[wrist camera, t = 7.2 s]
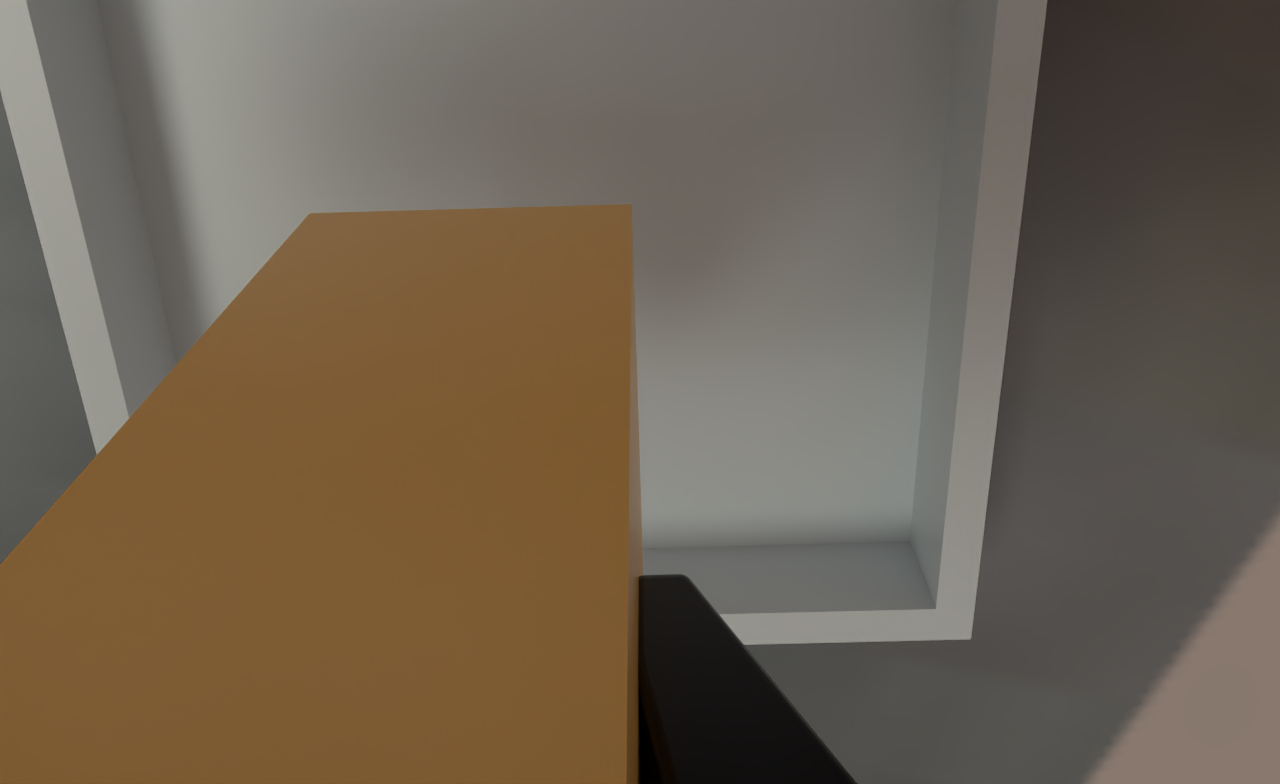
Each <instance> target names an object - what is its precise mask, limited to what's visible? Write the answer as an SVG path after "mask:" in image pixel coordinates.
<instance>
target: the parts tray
mask: <svg viewBox="0 0 1280 784" xmlns="http://www.w3.org/2000/svg"><path fill="white" fill-rule="evenodd" d="M1046 8H1047V0H0V91H1V95H2V99H3V102H4V106H5V110H6V114H7V117H8V121H9V125H10V129H11V133H12V136H13V140H14V144H15V148H16V151H17V155H18V159H19V163H20V167H21V170H22V174H23V178H24V182H25V185H26V189H27V193H28V197H29V201H30V204H31V208H32V212H33V216H34V219H35V223H36V227H37V231H38V235H39V238H40V242H41V246H42V250H43V253H44V257H45V261H46V265H47V269H48V272H49V276H50V280H51V284H52V287H53V291H54V295H55V299H56V303H57V306H58V310H59V314H60V318H61V321H62V325H63V329H64V333H65V337H66V340H67V344H68V348H69V352H70V355H71V359H72V363H73V367H74V371H75V374H76V378H77V382H78V386H79V389H80V393H81V397H82V401H83V405H84V408H85V412H86V416H87V420H88V423H89V427H90V431H91V435H92V439H93V442H94V446H95V450H96V454H98V453H99V452H100V451H101V450H102V449H103V447H104V446H105V445H106V444H107V443H108V442H109V441H110V439H111V438H112V437H113V436H114V435H115V434H116V433H117V432H118V430H119V429H120V428H121V427H122V426H123V425H124V424H125V422H126V421H127V420H128V419H129V418H130V417H131V416H132V415H133V413H134V412H135V411H136V410H137V409H138V408H139V407H140V405H141V404H142V403H143V402H144V401H145V400H146V399H147V397H148V396H149V395H150V394H151V393H152V392H153V391H154V390H155V388H156V387H157V386H158V385H159V384H160V383H161V382H162V380H163V379H164V378H165V377H166V376H167V375H168V374H169V372H170V371H171V370H172V369H173V368H174V367H175V366H176V365H177V363H178V362H179V361H180V360H181V359H182V358H183V357H184V355H185V354H186V353H187V352H188V351H189V350H190V349H191V347H192V346H193V345H194V344H195V343H196V342H197V341H198V340H199V338H200V337H201V336H202V335H203V334H204V333H205V332H206V330H207V329H208V328H209V327H210V326H211V325H212V324H213V322H214V321H215V320H216V319H217V318H218V317H219V316H220V315H221V313H222V312H223V311H224V310H225V309H226V308H227V307H228V305H229V304H230V303H231V302H232V301H233V300H234V299H235V298H236V296H237V295H238V294H239V293H240V292H241V291H242V290H243V288H244V287H245V286H246V285H247V284H248V283H249V282H250V280H251V279H252V278H253V277H254V276H255V275H256V274H257V273H258V271H259V270H260V269H261V268H262V267H263V266H264V265H265V263H266V262H267V261H268V260H269V259H270V258H271V257H272V255H273V254H274V253H275V252H276V251H277V250H278V249H279V248H280V246H281V245H282V244H283V243H284V242H285V241H286V240H287V238H288V237H289V236H290V235H291V234H292V233H293V232H294V230H295V229H296V228H297V227H298V226H299V225H300V224H301V223H302V221H303V220H304V219H305V218H306V217H307V216H308V215H309V213H335V212H370V211H405V210H440V209H476V208H511V207H546V206H581V205H616V204H632V231H633V262H634V293H635V324H636V356H637V387H638V418H639V449H640V481H641V512H642V543H643V574H644V575H662V574H684V575H685V576H687V577H689V578H690V579H691V581H692V582H693V583H694V584H695V586H696V587H697V588H698V589H699V590H700V592H701V593H702V594H703V595H704V597H705V598H706V599H707V600H708V601H709V603H710V604H711V605H712V606H713V608H714V609H715V610H716V611H717V613H718V614H719V615H720V616H721V617H722V619H723V620H724V621H725V622H726V624H727V625H728V626H729V627H730V628H731V630H732V631H733V632H734V633H735V635H736V636H737V637H738V638H739V639H740V641H741V642H742V643H743V644H744V645H751V644H794V643H836V642H878V641H921V640H963V639H971V634H972V626H973V617H974V609H975V601H976V592H977V584H978V576H979V567H980V559H981V550H982V542H983V534H984V525H985V517H986V509H987V500H988V492H989V484H990V475H991V467H992V459H993V450H994V442H995V434H996V425H997V417H998V409H999V400H1000V392H1001V384H1002V375H1003V367H1004V359H1005V350H1006V342H1007V333H1008V325H1009V317H1010V308H1011V300H1012V292H1013V283H1014V275H1015V267H1016V258H1017V250H1018V242H1019V233H1020V225H1021V217H1022V208H1023V200H1024V192H1025V183H1026V175H1027V167H1028V158H1029V150H1030V142H1031V133H1032V125H1033V117H1034V108H1035V100H1036V91H1037V83H1038V75H1039V66H1040V58H1041V50H1042V41H1043V33H1044V25H1045V16H1046Z"/></svg>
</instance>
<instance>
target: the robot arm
mask: <svg viewBox="0 0 1280 784" xmlns="http://www.w3.org/2000/svg"><path fill="white" fill-rule="evenodd" d="M638 694H639V722H640V750H641V778H642V784H857V783H856V782H855V780H854V779H853V778H852V777H851V776H850V774H849V773H848V772H847V771H846V769H845V768H844V767H843V766H842V765H841V763H840V762H839V761H838V760H837V758H836V757H835V756H834V755H833V753H832V752H831V751H830V750H829V749H828V747H827V746H826V745H825V744H824V742H823V741H822V740H821V739H820V738H819V736H818V735H817V734H816V733H815V731H814V730H813V729H812V728H811V727H810V725H809V724H808V723H807V722H806V720H805V719H804V718H803V717H802V715H801V714H800V713H799V712H798V711H797V709H796V708H795V707H794V706H793V704H792V703H791V702H790V701H789V700H788V698H787V697H786V696H785V695H784V693H783V692H782V691H781V690H780V689H779V687H778V686H777V685H776V684H775V682H774V681H773V680H772V679H771V677H770V676H769V675H768V674H767V673H766V671H765V670H764V669H763V668H762V666H761V665H760V664H759V663H758V662H757V660H756V659H755V658H754V657H753V655H752V654H751V653H750V652H749V651H748V649H747V648H746V647H745V646H744V644H743V643H742V642H741V641H740V639H739V638H738V637H737V636H736V635H735V633H734V632H733V631H732V630H731V628H730V627H729V626H728V625H727V624H726V622H725V621H724V620H723V619H722V617H721V616H720V615H719V614H718V613H717V611H716V610H715V609H714V608H713V606H712V605H711V604H710V603H709V601H708V600H707V599H706V598H705V597H704V595H703V594H702V593H701V592H700V590H699V589H698V588H697V587H696V586H695V584H694V583H693V582H692V581H691V579H690V578H689V577H687V576H685V575H684V574H662V575H642V576H639V613H638Z"/></svg>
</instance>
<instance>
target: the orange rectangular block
mask: <svg viewBox="0 0 1280 784" xmlns="http://www.w3.org/2000/svg"><path fill="white" fill-rule="evenodd" d="M642 575H644V574H643V543H642V512H641V481H640V449H639V418H638V387H637V356H636V324H635V293H634V262H633V231H632V204H616V205H581V206H546V207H511V208H476V209H440V210H405V211H370V212H335V213H309V215H308V216H307V217H306V218H305V219H304V220H303V221H302V223H301V224H300V225H299V226H298V227H297V228H296V229H295V230H294V232H293V233H292V234H291V235H290V236H289V237H288V238H287V240H286V241H285V242H284V243H283V244H282V245H281V246H280V248H279V249H278V250H277V251H276V252H275V253H274V254H273V255H272V257H271V258H270V259H269V260H268V261H267V262H266V263H265V265H264V266H263V267H262V268H261V269H260V270H259V271H258V273H257V274H256V275H255V276H254V277H253V278H252V279H251V280H250V282H249V283H248V284H247V285H246V286H245V287H244V288H243V290H242V291H241V292H240V293H239V294H238V295H237V296H236V298H235V299H234V300H233V301H232V302H231V303H230V304H229V305H228V307H227V308H226V309H225V310H224V311H223V312H222V313H221V315H220V316H219V317H218V318H217V319H216V320H215V321H214V322H213V324H212V325H211V326H210V327H209V328H208V329H207V330H206V332H205V333H204V334H203V335H202V336H201V337H200V338H199V340H198V341H197V342H196V343H195V344H194V345H193V346H192V347H191V349H190V350H189V351H188V352H187V353H186V354H185V355H184V357H183V358H182V359H181V360H180V361H179V362H178V363H177V365H176V366H175V367H174V368H173V369H172V370H171V371H170V372H169V374H168V375H167V376H166V377H165V378H164V379H163V380H162V382H161V383H160V384H159V385H158V386H157V387H156V388H155V390H154V391H153V392H152V393H151V394H150V395H149V396H148V397H147V399H146V400H145V401H144V402H143V403H142V404H141V405H140V407H139V408H138V409H137V410H136V411H135V412H134V413H133V415H132V416H131V417H130V418H129V419H128V420H127V421H126V422H125V424H124V425H123V426H122V427H121V428H120V429H119V430H118V432H117V433H116V434H115V435H114V436H113V437H112V438H111V439H110V441H109V442H108V443H107V444H106V445H105V446H104V447H103V449H102V450H101V451H100V452H99V453H98V454H97V455H96V457H95V458H94V459H93V460H92V461H91V462H90V463H89V464H88V466H87V467H86V468H85V469H84V470H83V471H82V472H81V474H80V475H79V476H78V477H77V478H76V479H75V480H74V482H73V483H72V484H71V485H70V486H69V487H68V488H67V489H66V491H65V492H64V493H63V494H62V495H61V496H60V497H59V499H58V500H57V501H56V502H55V503H54V504H53V505H52V507H51V508H50V509H49V510H48V511H47V512H46V513H45V514H44V516H43V517H42V518H41V519H40V520H39V521H38V522H37V524H36V525H35V526H34V527H33V528H32V529H31V530H30V532H29V533H28V534H27V535H26V536H25V537H24V538H23V539H22V541H21V542H20V543H19V544H18V545H17V546H16V547H15V549H14V550H13V551H12V552H11V553H10V554H9V555H8V556H7V558H6V559H5V560H4V561H3V562H2V563H1V564H0V784H642V778H641V750H640V722H639V694H638V613H639V576H642Z"/></svg>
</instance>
